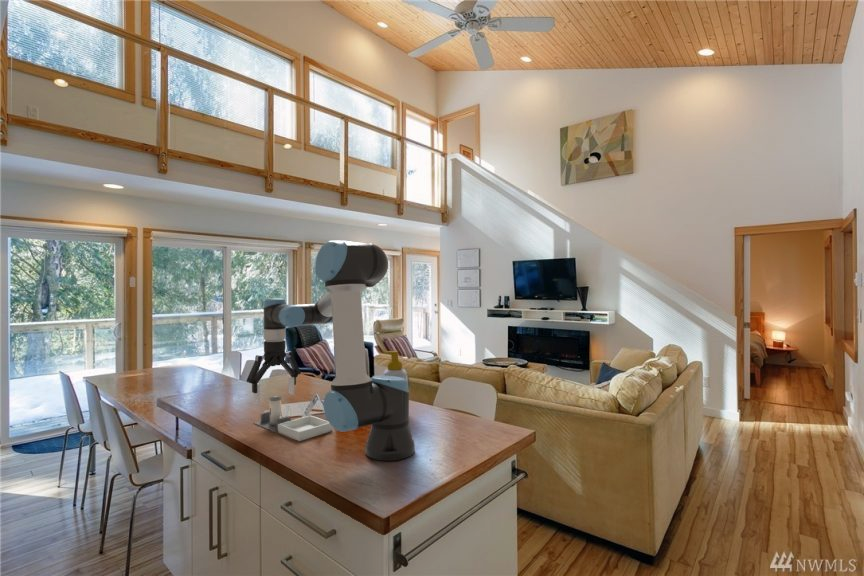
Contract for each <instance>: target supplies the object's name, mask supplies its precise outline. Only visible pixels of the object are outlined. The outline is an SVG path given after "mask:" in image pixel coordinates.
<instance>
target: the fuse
mask: <svg viewBox="0 0 864 576" xmlns="http://www.w3.org/2000/svg"><path fill="white" fill-rule="evenodd" d="M268 401H269V410H270V421H269V425H271V426H276V419H279V417H282V395H279V394H278V395H277V394H275V395H270V396H269V397H268Z"/></svg>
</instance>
